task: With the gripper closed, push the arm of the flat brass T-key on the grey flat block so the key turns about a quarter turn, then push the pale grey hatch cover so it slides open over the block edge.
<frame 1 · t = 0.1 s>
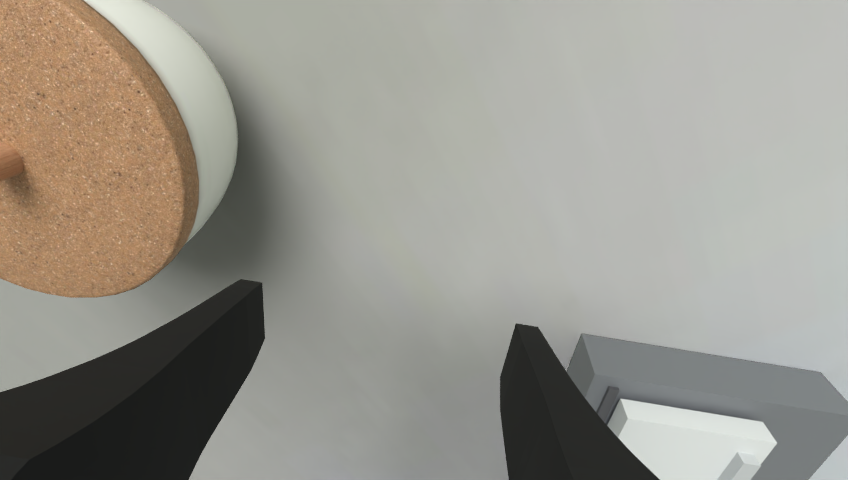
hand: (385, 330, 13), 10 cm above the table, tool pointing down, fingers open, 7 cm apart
grey flat block: (646, 448, 29), on the table
lidded jar: (163, 102, 21), on the table
hatch cover: (674, 465, 23), point 4 cm above the table, slide at 0.0 cm
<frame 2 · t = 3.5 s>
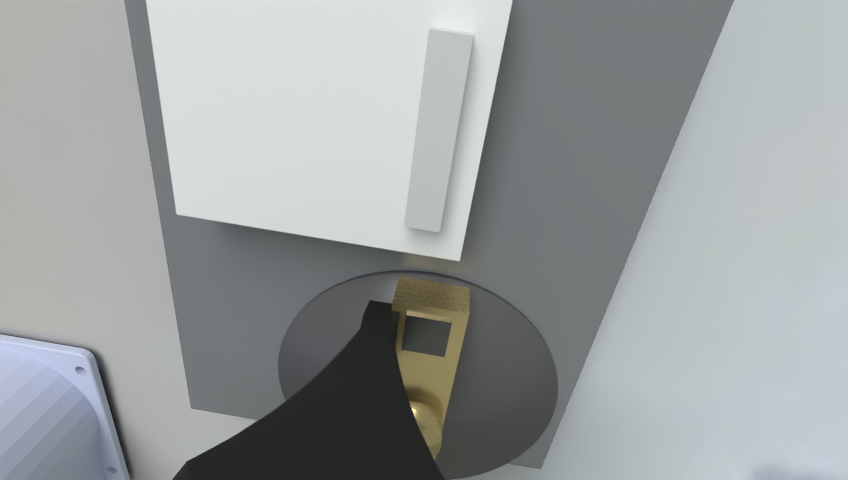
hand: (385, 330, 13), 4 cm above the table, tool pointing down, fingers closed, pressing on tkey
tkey: (410, 416, 14), point 4 cm above the table, hinge at -0.2°, touching gripper
grey flat block: (399, 208, 16), on the table
hatch cover: (324, 111, 10), point 4 cm above the table, slide at 0.0 cm
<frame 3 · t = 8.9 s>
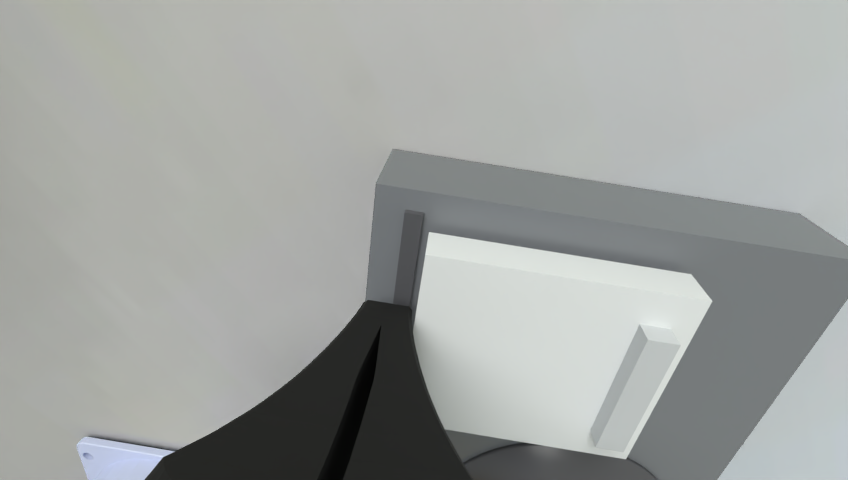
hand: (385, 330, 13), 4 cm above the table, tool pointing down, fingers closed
grey flat block: (532, 366, 18), on the table
hatch cover: (535, 360, 13), point 4 cm above the table, slide at 0.1 cm, touching gripper
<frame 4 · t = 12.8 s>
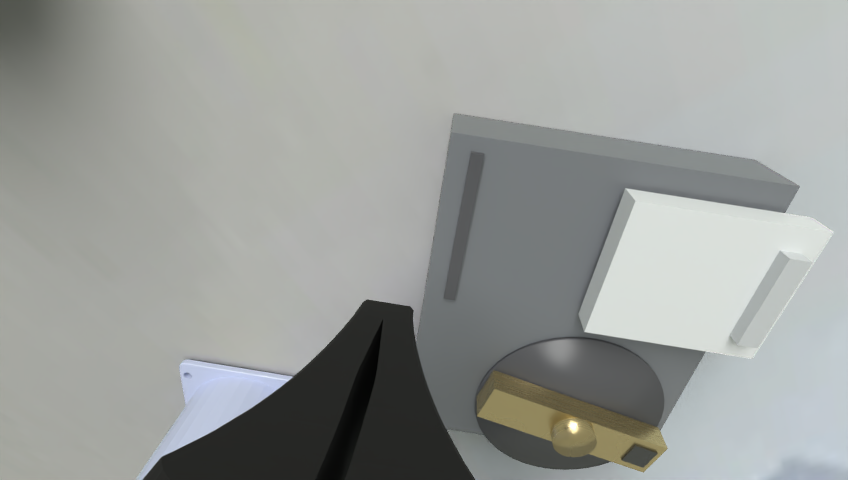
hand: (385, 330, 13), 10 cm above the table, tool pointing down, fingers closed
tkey: (570, 427, 22), point 4 cm above the table, hinge at -103.0°
grey flat block: (553, 288, 23), on the table
hatch cover: (695, 281, 18), point 4 cm above the table, slide at 5.3 cm
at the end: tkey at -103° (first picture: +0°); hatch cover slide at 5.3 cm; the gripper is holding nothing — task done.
